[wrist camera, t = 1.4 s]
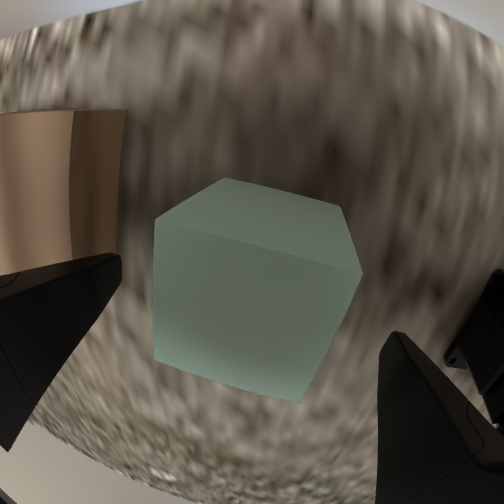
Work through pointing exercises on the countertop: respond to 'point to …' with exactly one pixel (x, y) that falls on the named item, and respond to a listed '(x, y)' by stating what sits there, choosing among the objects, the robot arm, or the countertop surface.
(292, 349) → the sage block
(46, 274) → the robot arm
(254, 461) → the countertop surface
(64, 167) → the walnut base
